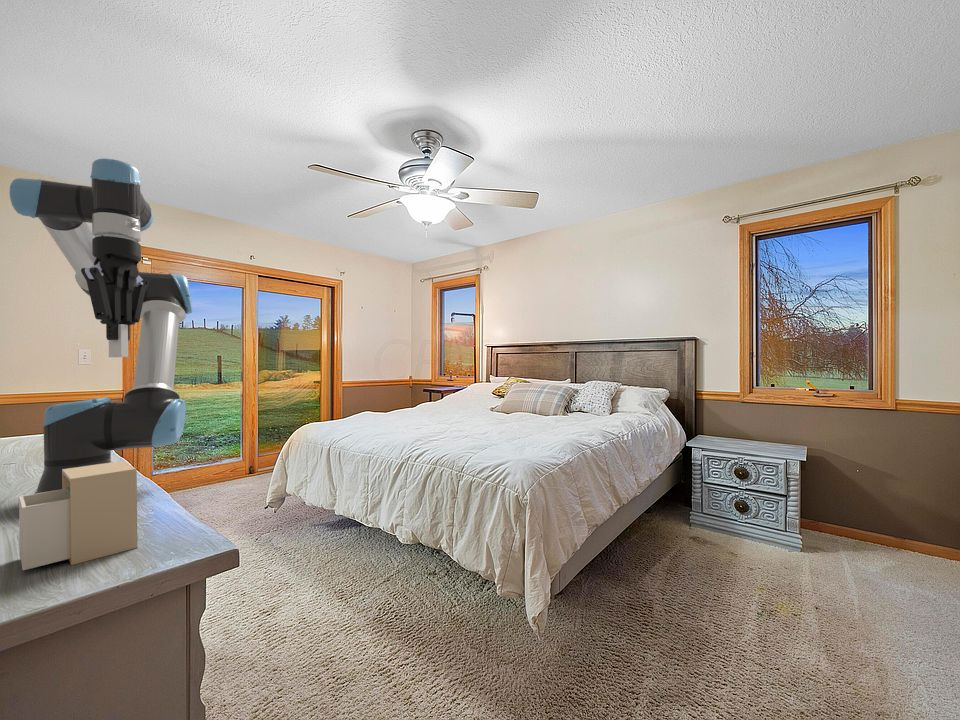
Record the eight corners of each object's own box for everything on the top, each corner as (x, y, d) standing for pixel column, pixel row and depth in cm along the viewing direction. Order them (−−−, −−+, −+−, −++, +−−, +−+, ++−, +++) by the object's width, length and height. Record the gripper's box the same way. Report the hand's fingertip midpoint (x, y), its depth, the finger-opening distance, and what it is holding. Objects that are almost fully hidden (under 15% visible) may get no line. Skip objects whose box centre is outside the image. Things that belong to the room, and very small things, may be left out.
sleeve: (123, 532, 79) (122, 460, 79) (137, 547, 71) (136, 468, 72) (62, 546, 73) (62, 469, 73) (71, 565, 65) (70, 478, 66)
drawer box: (102, 534, 76) (102, 482, 76) (112, 547, 70) (112, 491, 70) (19, 553, 68) (19, 496, 68) (22, 570, 62) (22, 507, 62)
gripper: (104, 228, 80) (105, 355, 80) (161, 248, 93) (162, 357, 93) (66, 230, 81) (67, 356, 80) (128, 249, 94) (129, 358, 93)
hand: (118, 357), depth 86 cm, fingers closed
